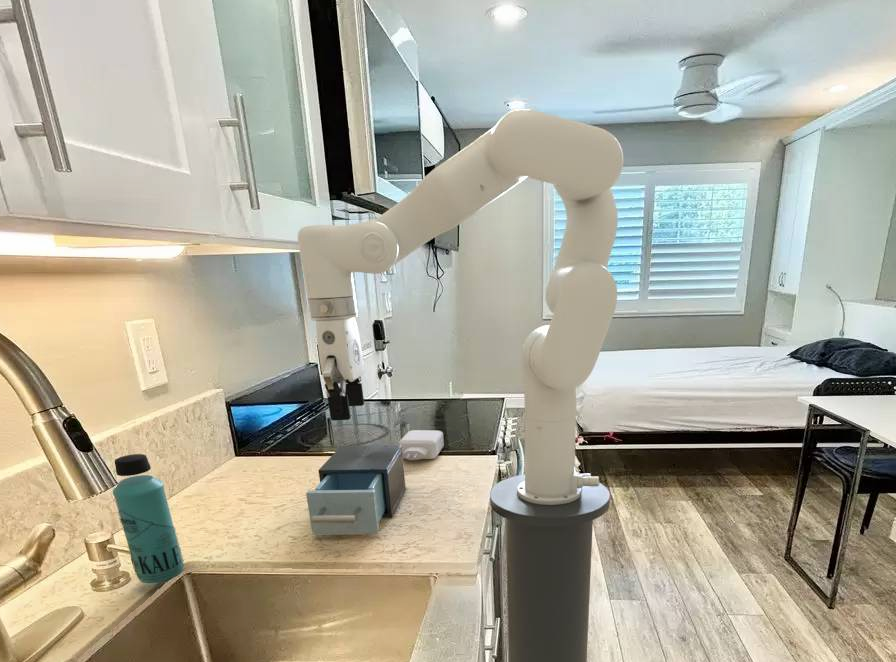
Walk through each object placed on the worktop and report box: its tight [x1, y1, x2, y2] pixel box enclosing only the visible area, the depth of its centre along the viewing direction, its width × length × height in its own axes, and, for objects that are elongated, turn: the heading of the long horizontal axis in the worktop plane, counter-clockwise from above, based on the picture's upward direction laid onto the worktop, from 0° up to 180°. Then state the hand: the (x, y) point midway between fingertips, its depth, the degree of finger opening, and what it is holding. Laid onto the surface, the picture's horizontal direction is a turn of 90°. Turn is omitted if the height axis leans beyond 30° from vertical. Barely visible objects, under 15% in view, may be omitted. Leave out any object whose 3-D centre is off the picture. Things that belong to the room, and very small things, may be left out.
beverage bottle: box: [112, 453, 185, 584], centre depth 83 cm, size 6×7×20 cm
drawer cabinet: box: [317, 444, 407, 519], centre depth 111 cm, size 15×13×10 cm
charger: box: [397, 429, 445, 461], centre depth 138 cm, size 5×9×15 cm
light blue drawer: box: [305, 473, 387, 536], centre depth 101 cm, size 18×11×8 cm, turn 178°
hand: (348, 412), depth 99 cm, fingers open, 9 cm apart
